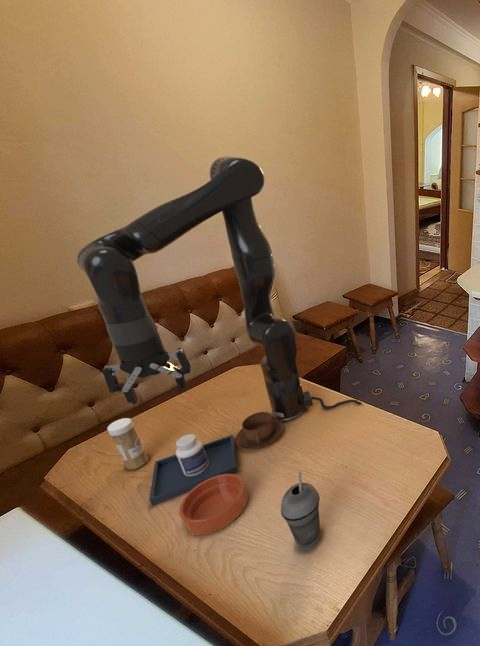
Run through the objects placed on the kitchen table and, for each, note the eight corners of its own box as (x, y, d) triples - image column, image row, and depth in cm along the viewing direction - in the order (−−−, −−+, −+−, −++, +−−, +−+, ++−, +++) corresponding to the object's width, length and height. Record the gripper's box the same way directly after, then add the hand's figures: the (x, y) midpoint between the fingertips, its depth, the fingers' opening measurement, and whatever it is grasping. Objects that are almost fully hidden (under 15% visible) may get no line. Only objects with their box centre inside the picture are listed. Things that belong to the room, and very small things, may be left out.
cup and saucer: (290, 437, 103) (287, 420, 101) (245, 460, 95) (239, 443, 93) (275, 416, 111) (271, 401, 108) (231, 437, 103) (226, 420, 100)
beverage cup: (297, 524, 80) (281, 459, 72) (331, 522, 80) (318, 457, 72) (285, 559, 73) (265, 491, 65) (321, 556, 74) (306, 488, 66)
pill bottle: (214, 463, 94) (204, 435, 90) (194, 479, 89) (182, 450, 85) (199, 457, 95) (188, 429, 92) (178, 473, 91) (166, 444, 87)
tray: (234, 440, 102) (232, 434, 101) (237, 472, 92) (235, 466, 91) (157, 467, 93) (155, 461, 92) (152, 506, 83) (149, 500, 82)
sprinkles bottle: (147, 465, 93) (129, 425, 88) (124, 473, 91) (104, 432, 86) (149, 453, 97) (132, 414, 92) (127, 460, 95) (108, 421, 89)
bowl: (245, 478, 90) (241, 465, 89) (250, 516, 81) (246, 503, 79) (186, 502, 84) (180, 489, 82) (184, 547, 75) (177, 533, 73)
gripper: (85, 352, 70) (116, 416, 77) (175, 333, 78) (196, 393, 85) (93, 336, 76) (121, 397, 83) (176, 320, 84) (196, 377, 90)
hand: (159, 395), depth 84 cm, fingers open, 8 cm apart
